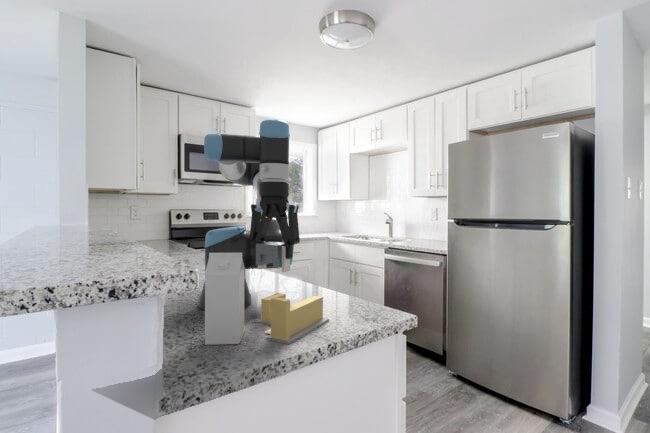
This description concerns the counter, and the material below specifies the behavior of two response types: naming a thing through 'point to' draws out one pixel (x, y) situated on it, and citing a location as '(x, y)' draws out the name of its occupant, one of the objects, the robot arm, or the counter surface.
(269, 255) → the grey block
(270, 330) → the label
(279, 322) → the rail
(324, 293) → the counter surface
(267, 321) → the stub
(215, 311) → the milk carton
